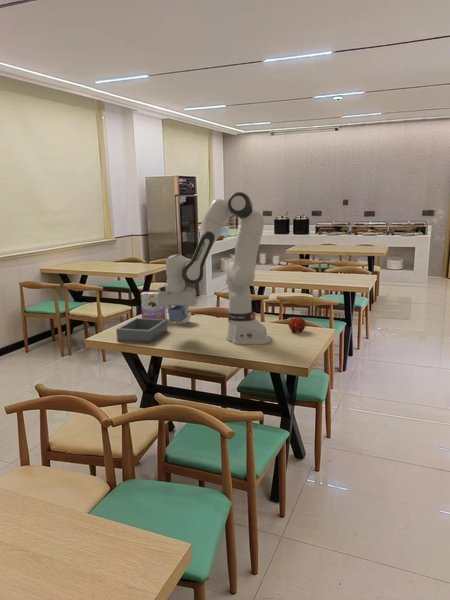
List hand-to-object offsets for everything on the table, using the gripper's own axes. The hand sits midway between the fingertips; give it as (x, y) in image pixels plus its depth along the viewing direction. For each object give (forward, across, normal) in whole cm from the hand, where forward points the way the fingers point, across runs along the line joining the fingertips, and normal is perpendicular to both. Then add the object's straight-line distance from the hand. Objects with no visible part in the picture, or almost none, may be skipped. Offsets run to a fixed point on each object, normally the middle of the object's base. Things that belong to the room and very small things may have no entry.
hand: (178, 313), depth 237 cm
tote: (+3, 0, 0) cm, 3 cm away
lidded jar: (+13, +9, -28) cm, 32 cm away
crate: (+12, +20, 0) cm, 24 cm away
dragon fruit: (+15, -56, -23) cm, 63 cm away
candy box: (+12, +27, -30) cm, 42 cm away
